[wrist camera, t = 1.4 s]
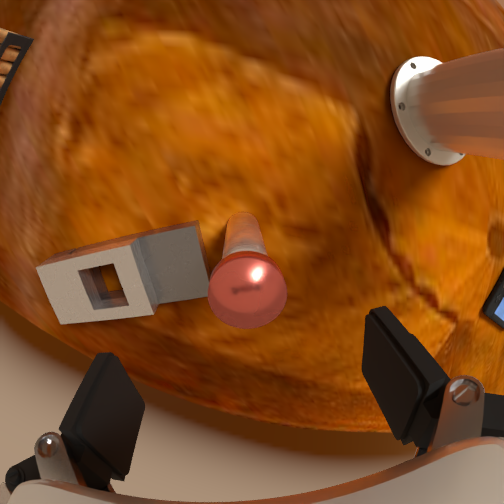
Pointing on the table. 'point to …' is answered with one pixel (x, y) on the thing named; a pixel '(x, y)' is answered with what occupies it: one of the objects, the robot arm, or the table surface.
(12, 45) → the ammunition clip
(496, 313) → the game console
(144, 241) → the chain link
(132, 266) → the chain link
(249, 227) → the pin
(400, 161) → the table surface
